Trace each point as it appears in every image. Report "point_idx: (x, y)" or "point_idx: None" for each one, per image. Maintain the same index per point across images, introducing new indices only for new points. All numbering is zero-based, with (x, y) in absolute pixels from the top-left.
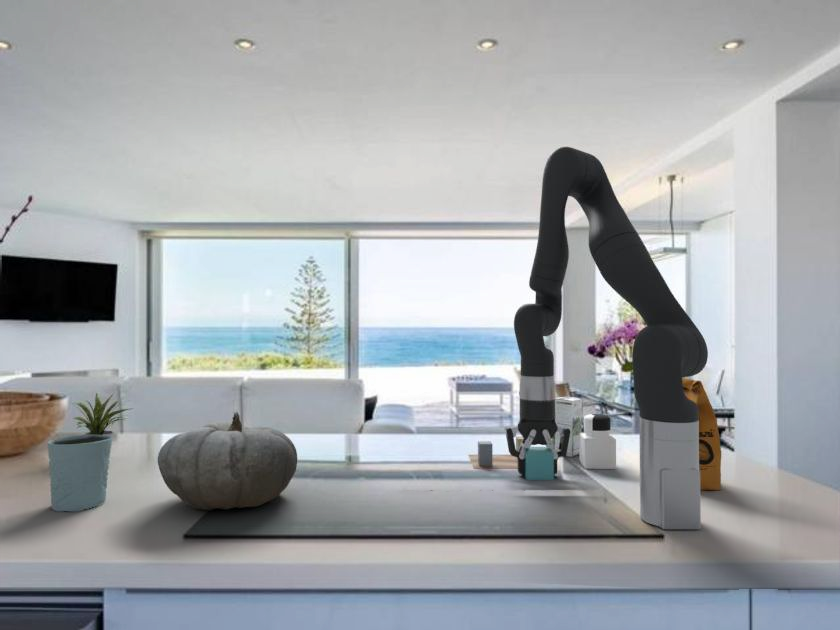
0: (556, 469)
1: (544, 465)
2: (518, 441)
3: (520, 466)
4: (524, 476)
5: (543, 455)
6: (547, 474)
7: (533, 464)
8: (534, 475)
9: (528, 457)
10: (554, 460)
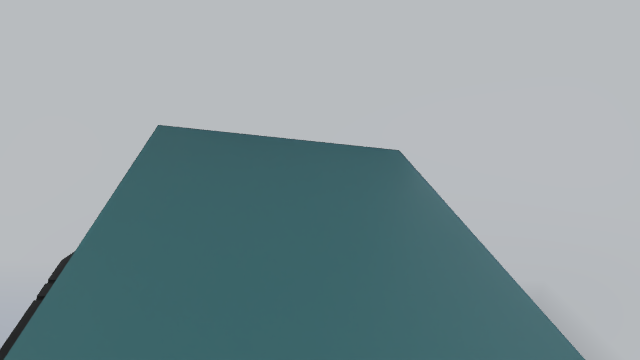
0: None
1: (246, 226)
2: None
3: None
4: None
5: (264, 351)
6: (211, 168)
7: (405, 243)
8: (354, 177)
9: (523, 321)
10: None
